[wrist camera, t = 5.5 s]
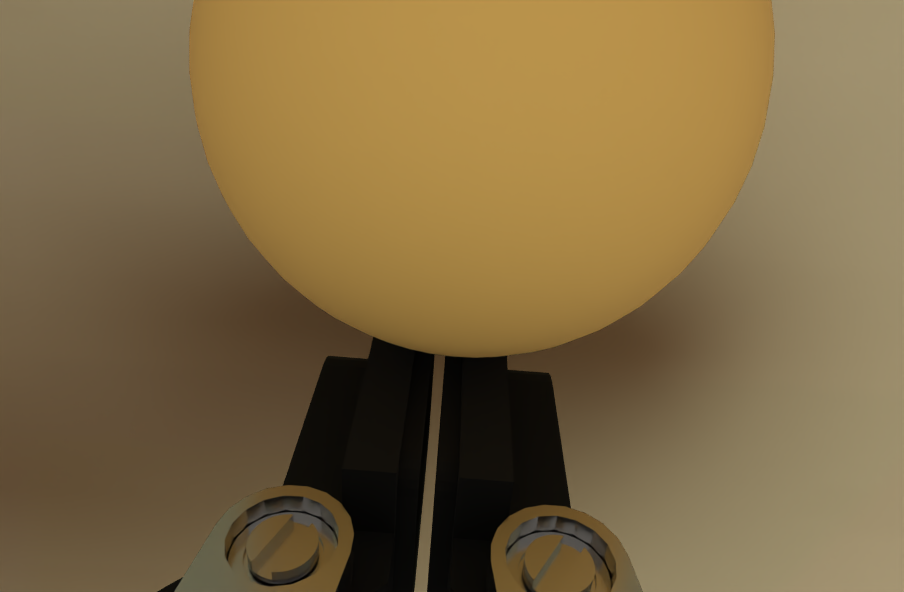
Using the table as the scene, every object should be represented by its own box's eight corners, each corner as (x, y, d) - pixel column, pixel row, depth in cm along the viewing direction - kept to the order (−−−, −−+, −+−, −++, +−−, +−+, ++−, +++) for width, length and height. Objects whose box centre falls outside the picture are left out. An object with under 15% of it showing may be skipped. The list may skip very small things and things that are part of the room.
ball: (131, 457, 6) (-15, -451, 3) (260, 190, 11) (253, -267, 8) (737, 500, 7) (1126, -224, 4) (607, 229, 11) (727, -181, 8)
